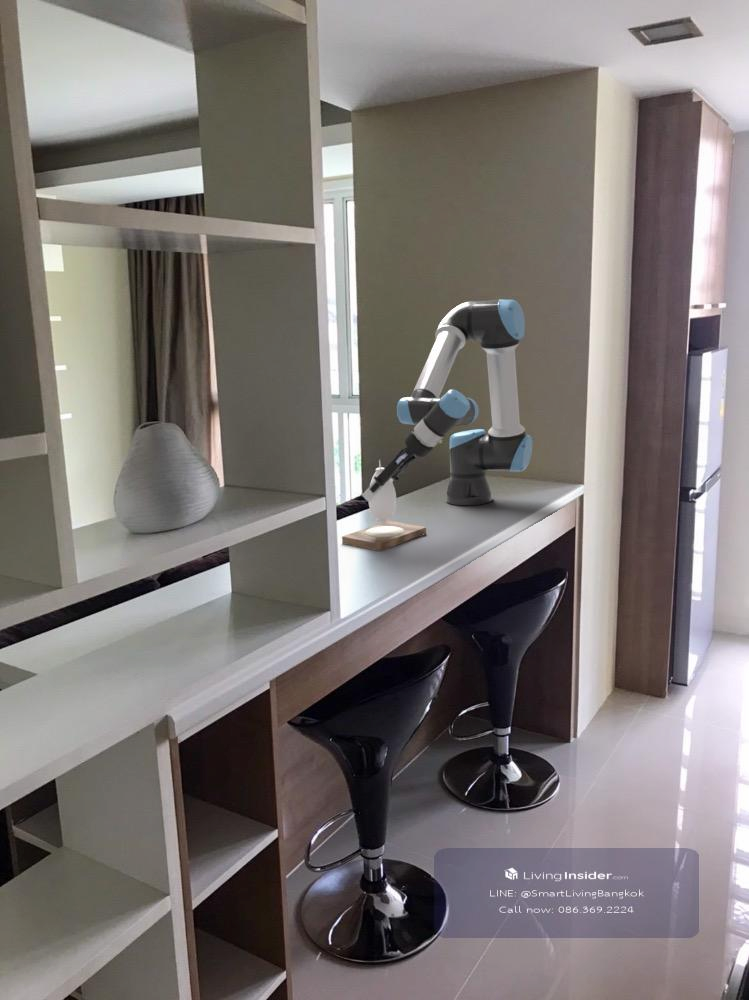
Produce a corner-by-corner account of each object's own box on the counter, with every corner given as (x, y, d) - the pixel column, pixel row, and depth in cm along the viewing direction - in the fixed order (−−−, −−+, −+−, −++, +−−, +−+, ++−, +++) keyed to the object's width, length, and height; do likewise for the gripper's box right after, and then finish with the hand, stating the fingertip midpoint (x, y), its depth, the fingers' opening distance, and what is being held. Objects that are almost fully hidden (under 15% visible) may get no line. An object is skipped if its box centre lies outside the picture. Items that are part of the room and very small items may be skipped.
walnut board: (389, 527, 247) (389, 520, 246) (426, 534, 237) (426, 526, 237) (342, 543, 232) (342, 535, 232) (379, 550, 223) (379, 543, 223)
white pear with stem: (395, 525, 229) (391, 461, 225) (367, 525, 231) (363, 462, 226) (399, 517, 237) (395, 455, 232) (372, 518, 238) (368, 456, 234)
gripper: (420, 454, 214) (366, 513, 224) (444, 442, 232) (392, 497, 242) (400, 434, 215) (347, 493, 225) (425, 423, 233) (375, 478, 243)
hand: (371, 495), depth 233 cm, fingers closed on white pear with stem, 7 cm apart
